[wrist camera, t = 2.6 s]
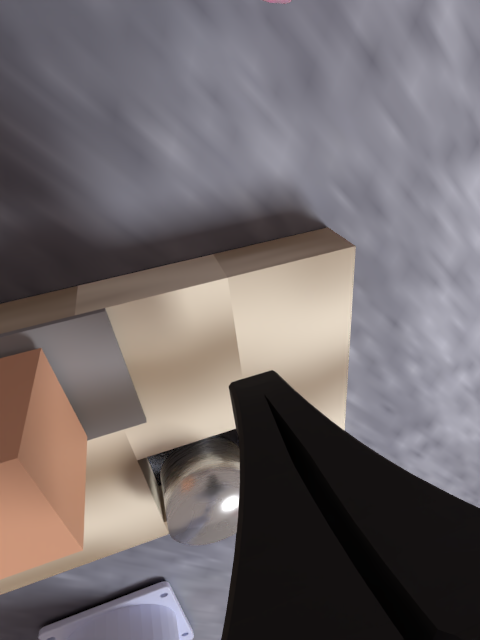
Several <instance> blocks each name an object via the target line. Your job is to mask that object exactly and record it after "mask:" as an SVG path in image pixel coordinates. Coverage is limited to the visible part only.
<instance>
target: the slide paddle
mask: <svg viewBox="0 0 480 640" xmlns="http://www.w3.org/2000/svg"><path fill="white" fill-rule="evenodd" d="M86 459H87V435H86V433H85V431H84V429H83V427H82V425H81V423H80V421H79V420H78V418H77V416H76V414H75V412H74V410H73V408H72V406H71V404H70V402H69V400H68V398H67V396H66V395H65V393H64V391H63V389H62V387H61V385H60V383H59V381H58V379H57V377H56V375H55V373H54V371H53V370H52V368H51V366H50V364H49V362H48V360H47V358H46V356H45V354H44V352H43V350H42V348H38V349H35V350H31V351H27V352H23V353H19V354H15V355H11V356H7V357H3V358H0V580H1V579H4V578H6V577H9V576H12V575H15V574H18V573H21V572H23V571H26V570H29V569H32V568H35V567H37V566H40V565H43V564H46V563H49V562H52V561H54V560H57V559H60V558H63V557H66V556H69V555H71V554H74V553H77V552H80V551H83V542H84V514H85V486H86Z"/></svg>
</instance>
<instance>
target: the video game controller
mask: <svg viewBox="0 0 480 640" xmlns="http://www.w3.org/2000/svg"><path fill="white" fill-rule="evenodd" d="M263 1H267V2H270V3H283V4H285V3H290V2H291V1H292V0H263Z"/></svg>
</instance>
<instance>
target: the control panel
mask: <svg viewBox="0 0 480 640" xmlns="http://www.w3.org/2000/svg"><path fill="white" fill-rule="evenodd" d="M355 247H356V246H355V245H353V244H352V243H350V242H349V241H347V240H346V239H344V238H343V237H341V236H340V235H338V234H337V233H335V232H334V231H333V230H331V229H330V228H328V227H327V228H323V229H319V230H315V231H310V232H306V233H302V234H297V235H293V236H289V237H285V238H280V239H276V240H272V241H267V242H263V243H259V244H255V245H250V246H246V247H242V248H237V249H233V250H229V251H225V252H220V253H216V254H212V255H207V256H203V257H199V258H195V259H190V260H186V261H182V262H178V263H173V264H169V265H165V266H160V267H156V268H152V269H148V270H143V271H139V272H135V273H130V274H126V275H122V276H118V277H113V278H109V279H105V280H100V281H96V282H92V283H88V284H83V285H79V286H75V287H70V288H66V289H62V290H58V291H53V292H49V293H45V294H41V295H36V296H32V297H28V298H23V299H19V300H15V301H11V302H6V303H2V304H0V358H3V357H7V356H11V355H15V354H19V353H23V352H27V351H31V350H35V349H38V348H42V350H43V352H44V354H45V356H46V358H47V360H48V362H49V364H50V366H51V368H52V370H53V371H54V373H55V375H56V377H57V379H58V381H59V383H60V385H61V387H62V389H63V391H64V393H65V395H66V396H67V398H68V400H69V402H70V404H71V406H72V408H73V410H74V412H75V414H76V416H77V418H78V420H79V421H80V423H81V425H82V427H83V429H84V431H85V433H86V435H87V459H86V486H85V514H84V542H83V551H80V552H77V553H74V554H71V555H69V556H66V557H63V558H60V559H57V560H54V561H52V562H49V563H46V564H43V565H40V566H37V567H35V568H32V569H29V570H26V571H23V572H21V573H18V574H15V575H12V576H9V577H6V578H4V579H1V580H0V595H1V594H4V593H7V592H10V591H12V590H15V589H18V588H21V587H23V586H26V585H29V584H32V583H34V582H37V581H40V580H43V579H46V578H48V577H51V576H54V575H57V574H59V573H62V572H65V571H68V570H70V569H73V568H76V567H79V566H82V565H84V564H87V563H90V562H93V561H95V560H98V559H101V558H104V557H106V556H109V555H112V554H115V553H118V552H120V551H123V550H126V549H129V548H131V547H134V546H137V545H140V544H142V543H145V542H148V541H151V540H154V539H156V538H159V537H162V536H165V535H167V534H169V531H168V525H167V518H166V511H165V505H164V498H163V491H162V485H160V486H158V483H157V481H156V478H155V476H154V473H153V471H152V468H151V466H150V463H149V461H148V458H147V457H149V456H152V455H155V454H158V453H161V452H165V451H168V450H171V449H174V448H177V447H180V446H183V445H186V444H189V443H193V442H196V441H199V440H202V439H205V438H208V437H211V436H214V435H217V434H221V433H224V432H227V431H230V430H233V429H236V425H235V420H234V414H233V409H232V403H231V398H230V392H229V385H230V384H231V382H234V381H237V380H240V379H244V378H247V377H250V376H254V375H257V374H261V373H264V372H267V371H271V370H273V371H275V372H277V373H278V374H279V375H280V376H281V377H282V378H283V379H284V380H285V381H286V382H287V383H288V384H289V385H290V386H291V387H292V388H293V389H294V390H295V391H297V392H298V393H299V394H300V395H301V396H302V397H303V398H304V399H306V400H307V401H308V402H309V403H310V404H311V405H313V406H314V407H315V408H316V409H318V410H319V411H320V412H321V413H322V414H324V415H325V416H326V417H327V418H329V419H330V420H331V421H332V422H334V423H335V424H336V425H338V426H339V427H340V428H342V429H343V430H344V429H345V412H346V396H347V379H348V363H349V346H350V330H351V313H352V297H353V280H354V264H355Z"/></svg>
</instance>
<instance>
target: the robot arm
mask: <svg viewBox="0 0 480 640" xmlns="http://www.w3.org/2000/svg"><path fill="white" fill-rule="evenodd" d="M229 392H230V398H231V403H232V409H233V414H234V420H235V425H236V430H237V433H238V436H239V449H240V488H239V508H238V522H237V533H236V544H235V553H234V562H233V569H232V576H231V583H230V590H229V597H228V604H227V610H226V616H225V622H224V628H223V633H222V638H221V640H480V508H478V507H476V506H474V505H472V504H469V503H467V502H465V501H463V500H461V499H459V498H457V497H455V496H453V495H451V494H449V493H447V492H445V491H443V490H441V489H439V488H437V487H436V486H434V485H432V484H430V483H428V482H426V481H424V480H422V479H420V478H418V477H416V476H415V475H413V474H411V473H409V472H408V471H406V470H404V469H402V468H401V467H399V466H397V465H396V464H394V463H392V462H391V461H389V460H387V459H386V458H384V457H383V456H381V455H379V454H378V453H376V452H375V451H373V450H372V449H370V448H369V447H367V446H366V445H364V444H363V443H361V442H360V441H358V440H357V439H356V438H354V437H353V436H351V435H350V434H349V433H347V432H346V431H344V430H343V429H342V428H340V427H339V426H338V425H336V424H335V423H334V422H332V421H331V420H330V419H329V418H327V417H326V416H325V415H324V414H322V413H321V412H320V411H319V410H318V409H316V408H315V407H314V406H313V405H311V404H310V403H309V402H308V401H307V400H306V399H304V398H303V397H302V396H301V395H300V394H299V393H298V392H297V391H295V390H294V389H293V388H292V387H291V386H290V385H289V384H288V383H287V382H286V381H285V380H284V379H283V378H282V377H281V376H280V375H279V374H278V373H277V372H275V371H273V370H271V371H267V372H264V373H261V374H257V375H254V376H250V377H247V378H244V379H240V380H237V381H234V382H231V384H230V385H229ZM193 637H194V633H193V630H192V628H191V626H190V624H189V622H188V620H187V618H186V616H185V614H184V612H183V610H182V608H181V606H180V604H179V602H178V600H177V598H176V596H175V594H174V592H173V590H172V588H171V586H170V584H169V583H168V582H166V581H163V582H159V583H157V584H154V585H151V586H149V587H146V588H144V589H141V590H138V591H136V592H133V593H131V594H128V595H125V596H123V597H120V598H117V599H115V600H112V601H110V602H107V603H104V604H102V605H99V606H97V607H94V608H91V609H89V610H86V611H83V612H81V613H78V614H76V615H73V616H70V617H68V618H65V619H63V620H60V621H57V622H55V623H52V624H49V625H47V626H44V627H42V628H41V629H40V630H39V635H38V638H39V640H192V639H193Z"/></svg>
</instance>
